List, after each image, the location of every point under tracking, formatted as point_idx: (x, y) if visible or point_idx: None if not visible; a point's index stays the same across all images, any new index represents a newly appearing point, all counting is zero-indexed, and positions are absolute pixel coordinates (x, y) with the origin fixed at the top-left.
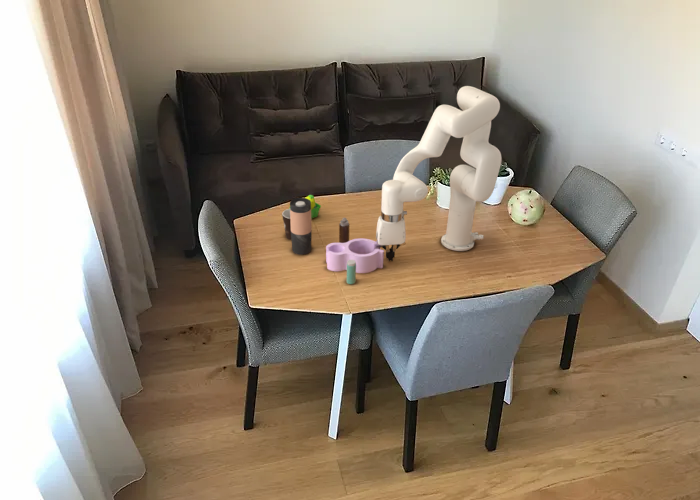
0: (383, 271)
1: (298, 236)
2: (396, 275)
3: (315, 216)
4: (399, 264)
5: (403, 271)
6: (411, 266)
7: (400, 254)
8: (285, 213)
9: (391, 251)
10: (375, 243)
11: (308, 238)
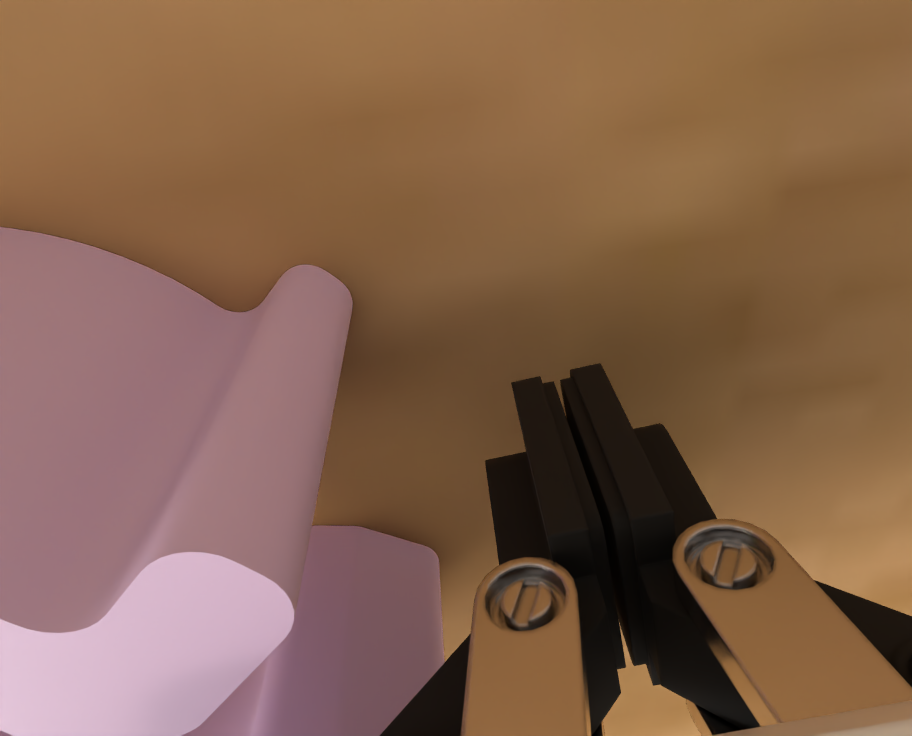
0: (453, 642)
1: None
2: (631, 685)
3: None
4: (716, 456)
5: None
6: (902, 479)
7: (809, 103)
8: None
9: (644, 646)
10: (126, 731)
11: None
